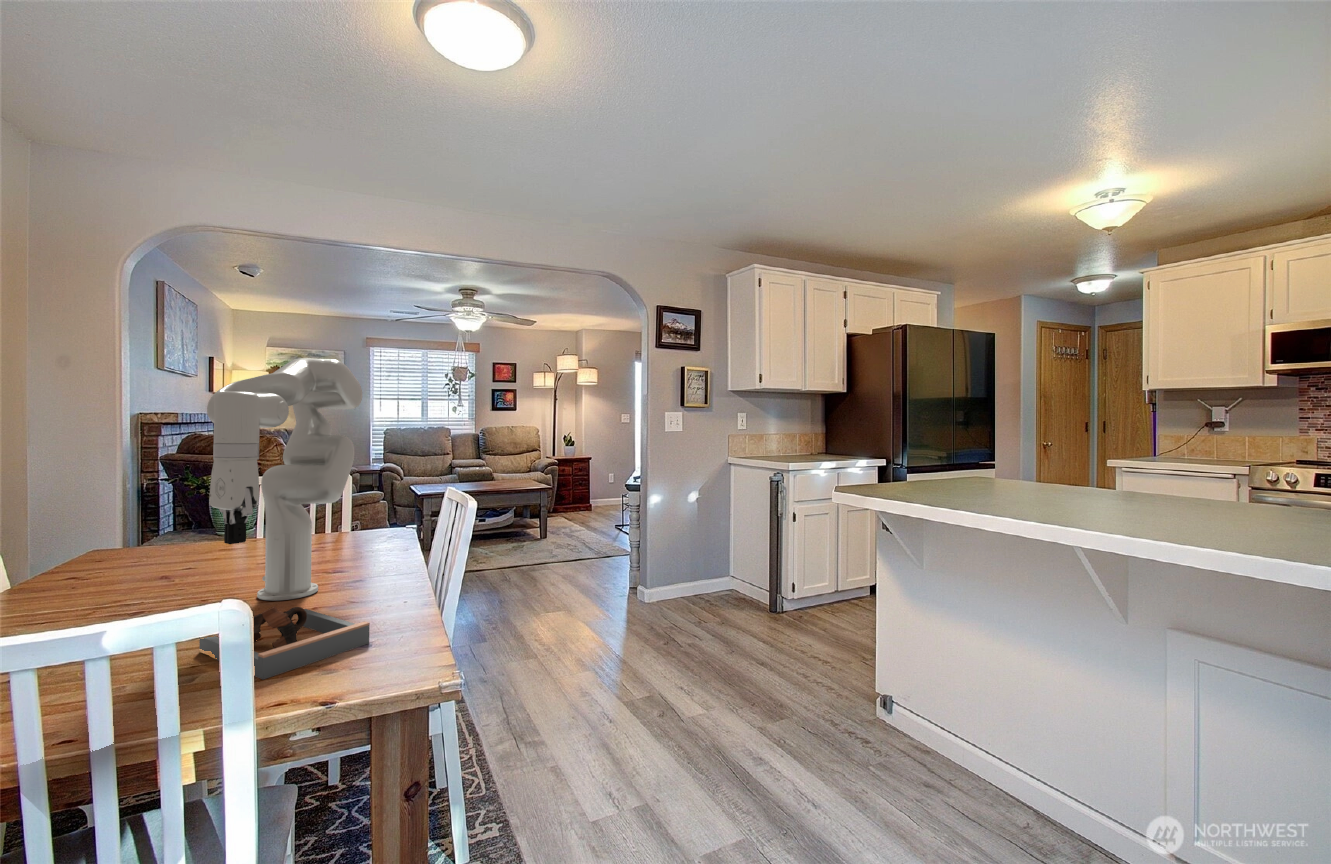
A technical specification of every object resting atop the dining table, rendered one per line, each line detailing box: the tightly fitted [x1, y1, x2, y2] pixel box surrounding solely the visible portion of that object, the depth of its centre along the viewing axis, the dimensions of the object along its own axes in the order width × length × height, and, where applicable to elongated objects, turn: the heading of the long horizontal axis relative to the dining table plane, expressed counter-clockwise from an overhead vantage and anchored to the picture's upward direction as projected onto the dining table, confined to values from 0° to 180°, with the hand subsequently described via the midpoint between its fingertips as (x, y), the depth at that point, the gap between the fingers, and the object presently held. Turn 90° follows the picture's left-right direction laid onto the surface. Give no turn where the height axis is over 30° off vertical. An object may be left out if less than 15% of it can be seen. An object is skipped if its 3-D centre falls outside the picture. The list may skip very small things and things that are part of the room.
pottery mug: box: [253, 606, 307, 649], centre depth 113 cm, size 12×10×8 cm
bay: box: [198, 608, 371, 680], centre depth 111 cm, size 22×19×4 cm
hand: (235, 542), depth 119 cm, fingers closed
